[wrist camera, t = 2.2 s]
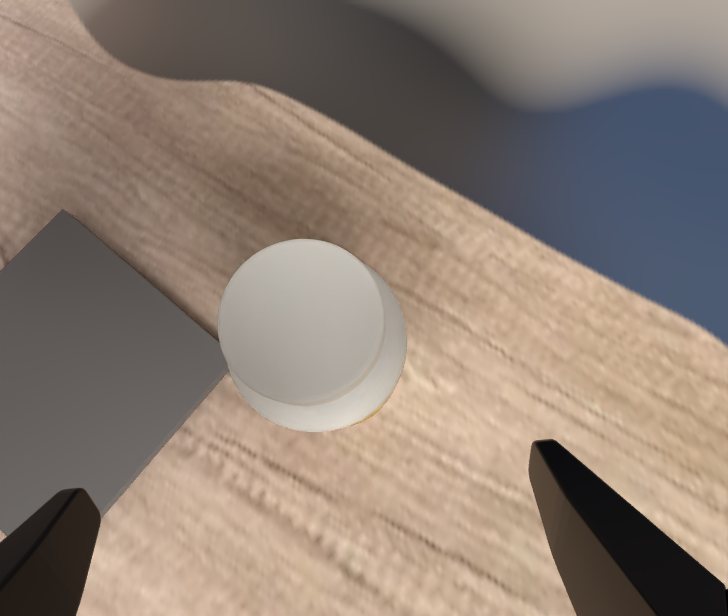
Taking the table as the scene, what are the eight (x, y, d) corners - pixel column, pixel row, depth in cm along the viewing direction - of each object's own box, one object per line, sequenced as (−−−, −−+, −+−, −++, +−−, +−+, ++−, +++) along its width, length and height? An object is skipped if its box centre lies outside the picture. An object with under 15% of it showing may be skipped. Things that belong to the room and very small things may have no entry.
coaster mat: (54, 572, 19) (44, 576, 18) (-111, 396, 21) (-125, 395, 20) (239, 358, 21) (235, 356, 20) (70, 214, 22) (62, 209, 22)
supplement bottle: (258, 330, 21) (156, 258, 11) (370, 285, 21) (362, 177, 12) (300, 448, 20) (226, 475, 10) (419, 398, 20) (453, 379, 10)
